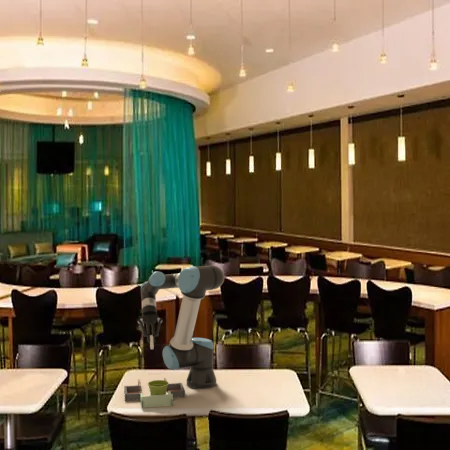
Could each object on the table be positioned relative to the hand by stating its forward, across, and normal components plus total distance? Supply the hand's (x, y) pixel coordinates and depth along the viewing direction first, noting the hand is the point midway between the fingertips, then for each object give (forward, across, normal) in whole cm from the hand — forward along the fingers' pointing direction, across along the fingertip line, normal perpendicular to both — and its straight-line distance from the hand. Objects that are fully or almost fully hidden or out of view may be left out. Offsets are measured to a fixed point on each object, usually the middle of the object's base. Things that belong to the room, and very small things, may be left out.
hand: (152, 347), depth 277 cm
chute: (+14, 0, -14) cm, 20 cm away
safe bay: (+28, 0, 0) cm, 28 cm away
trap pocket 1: (+21, +10, -7) cm, 24 cm away
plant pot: (+28, -1, -1) cm, 28 cm away
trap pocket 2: (+21, -10, -7) cm, 25 cm away
